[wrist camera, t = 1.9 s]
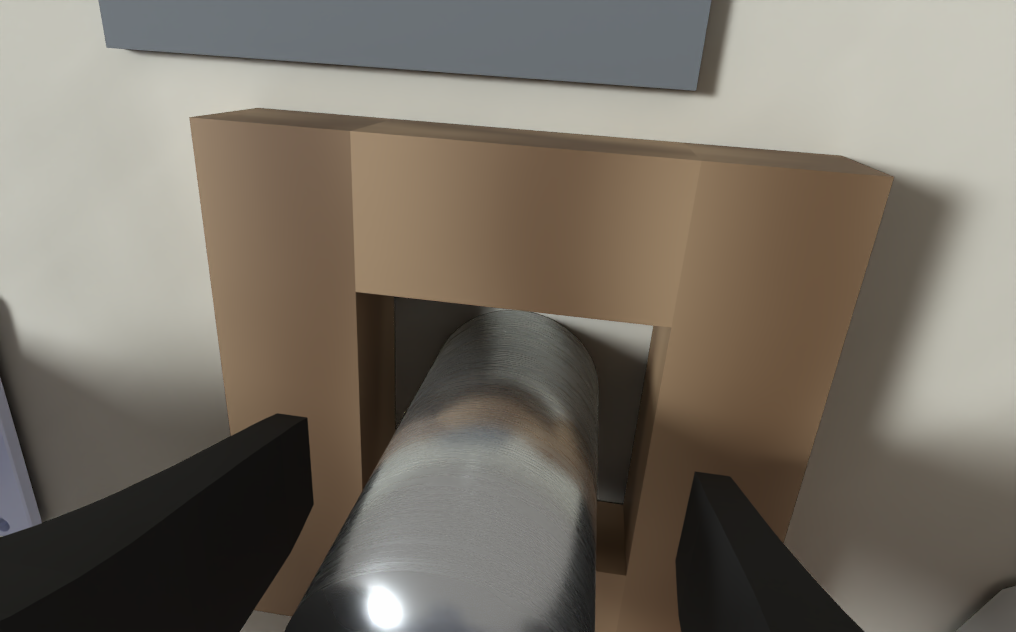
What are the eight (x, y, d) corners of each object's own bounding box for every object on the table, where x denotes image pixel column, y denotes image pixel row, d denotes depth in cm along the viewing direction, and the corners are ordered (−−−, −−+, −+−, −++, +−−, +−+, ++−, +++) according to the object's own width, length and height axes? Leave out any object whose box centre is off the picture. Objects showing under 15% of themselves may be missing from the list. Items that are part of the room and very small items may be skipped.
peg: (433, 444, 16) (291, 767, 9) (435, 301, 15) (265, 547, 7) (588, 466, 16) (575, 824, 8) (608, 320, 14) (614, 602, 7)
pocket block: (295, 542, 18) (253, 609, 16) (257, 108, 13) (189, 116, 11) (720, 610, 17) (738, 693, 15) (841, 155, 12) (893, 177, 10)
